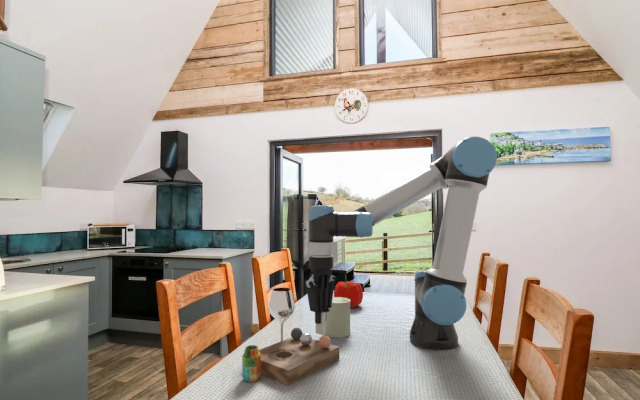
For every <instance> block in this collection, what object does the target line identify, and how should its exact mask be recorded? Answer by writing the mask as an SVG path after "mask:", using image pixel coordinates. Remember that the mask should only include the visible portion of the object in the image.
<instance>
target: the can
mask: <svg viewBox="0 0 640 400" xmlns="http://www.w3.org/2000/svg"><path fill="white" fill-rule="evenodd" d="M350 301H351V300H350V299H348V298H343V297H334V296H333V298H332V305H331V308H328V309H329V310H330V311H329V312H326V334H324V335H326V336H329V337H331V338H338V339H339V338H346V337H349V336H350V335H351V308H350Z"/></svg>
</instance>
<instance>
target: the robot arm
mask: <svg viewBox="0 0 640 400" xmlns="http://www.w3.org/2000/svg"><path fill="white" fill-rule="evenodd" d="M497 160H498V154H497V150H496V148H495V146H494V145H493V144H492V143H491V142H490V141H489V140H488V139H485V138H483V137H480V136H469V137H465V138H463V139H460V140H459V141H458V142H456V143H455V145H454V146H452V147H451V148H450V149H449V150H447V152H445V154H443V155H441V156H440V157H439V158H438V159H436V160H435V161H434V162H431V163H430V165H429V167H428V168H427V169H425V170H423V171H421V172H420V173H418V174H416V175H414V176H413V177H411V178H409V179H408V180H406V181H404V182H402V183H400V184H399V185H397V186H396V187H393V188H392V189H391V190H389V191H387V192H385V193H383V194H382V195H379V196H378V197H376V198H375V199H372V200H371V201H369V202H368V203H366V204H364V205H363V206H361V207H359V208H357V209H355V210H353V211H347V212H345V211H343V212H342V211H341V212H339V211H335V210H334V208H335V207H334V206H333V205H311V207H310V208H309V218H308V244H309V245H308V254H309V257H308V268H309V270H310V274H309V279H308V280H304V286H305V288H306V294H307V299H308V300H307V301H308V306H309V311H310V312H314V323H315V334H318V335H321V336H324V335H325V334H326V312H329V311H330V310H329V309H328V308H331V305H332V298H333V297H334V290H335V284H336V281H337V276H335V275H333V274H332V273H333V272H332V269H333V268H334V257H333V255H334V253H335V252H334V251H335V250H334V248H335V247H334V237H337V238H338V237H342V238H344V237H345V238H349V237H350V238H361V239H362V238H369V237H372V236H373V233H374V232H373V227H374V226H375V225H377V224H379V223H381V222H382V221H384V220H386V219H388V218H390V217H392V216H393V215H395V214H397V213H399V212H401V211H403V210H404V209H406V208H408V207H410V206H412V205H413V204H415V203H417V202H419V201H420V200H422V199H424V198H426V197H427V196H429V195H431V194H433V193H435V192H437V191H438V190H440V189H444V190H446V189H447V195H446V199H445V204H444V208H443V214H442V218H441V224H440V228H439V231H438V232H439V234H438V238H437V242H436V247H435V253H434V257H433V263H432V266H431V267H429V268H428V269H426V270H417V271H415V274H414V280H413V281H414V317H413V321H412V324H411V326H410V327H411V328H410V331H409V341H410V343H412V344H413V345H416V346H417V347H421V348H425V349H430V350H431V349H432V350H450V349H454V348H456V347H457V346H458V345H459V336H458V333H457V330H456V327H455V325H454V324H456V323H458V322H460V320H461V319H463V317H464V315H465V313H466V311H467V300H466V299H467V298H466V297H465V294H466V288H467V284H468V279H467V278H466V277H465V275H464V269H465V266H466V261H467V260H466V259H467V255H468V251H469V245H470V241H471V236H472V230H473V226H474V222H475V221H474V220H475V217H476V212H477V207H478V203H479V196H480V193H481V192H482V191H484V190H485V189H487V188H488V187H487V186H488V182H489V178H490V173H491V172H492V171H493V170H494V168H495V167H496V165H497V162H498V161H497Z"/></svg>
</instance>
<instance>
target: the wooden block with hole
mask: <svg viewBox="0 0 640 400" xmlns="http://www.w3.org/2000/svg"><path fill="white" fill-rule="evenodd" d="M259 352H260V354H261V373H260V375H262V376H264V377H267V378H268V379H269V378H270V379H272V380H275V381H276V382H279V383H281V384H284V385H286V386H290V385H292V384H294V383H296V382H299V380H302V379H304V378H305V377H308V376H309V375H312V374H314V373H315V372H317V371H320V370H322V369H324V368H325V367H327V366H329V365H331V364H333V363H336V362H337V361H339V360H340V346H338V345H334V344H332V343H331V345H330V346H329V347H328V348H322V347H321V346H320V345H319V339H314V338H312V342H311V344H310V345H308V346H304V345H302V344H301V342H300V339H299V340H294V339H293V338H292V337H289V338H286V339H283V341H281V342H280V341H278V342H276V343H273V344H270V345H268V346H265V347H262V348H260V349H259Z"/></svg>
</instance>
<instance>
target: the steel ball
mask: <svg viewBox="0 0 640 400" xmlns="http://www.w3.org/2000/svg"><path fill="white" fill-rule="evenodd" d="M312 339H313V337H312V335H311V334H310V333H308V332H304V333H302V335H301V337H300V342H301V344H302V345H304V346H308V345H310V344H311V342H312Z"/></svg>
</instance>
